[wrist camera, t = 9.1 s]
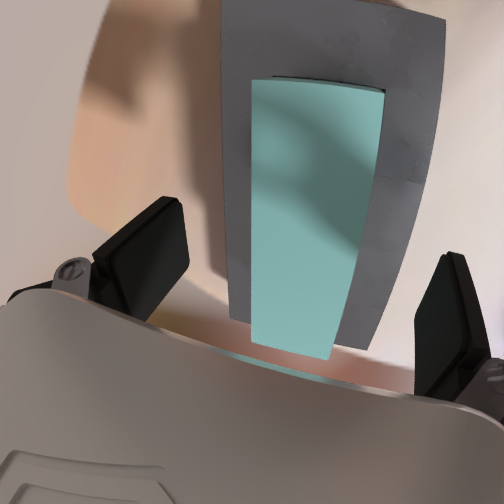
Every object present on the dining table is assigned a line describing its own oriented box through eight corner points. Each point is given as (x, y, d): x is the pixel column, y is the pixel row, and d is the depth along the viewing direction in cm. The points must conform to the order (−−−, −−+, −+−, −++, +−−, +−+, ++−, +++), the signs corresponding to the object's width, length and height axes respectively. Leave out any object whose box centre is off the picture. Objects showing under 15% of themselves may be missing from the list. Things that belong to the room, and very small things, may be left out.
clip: (298, 75, 14) (251, 79, 8) (373, 84, 13) (384, 93, 7) (287, 259, 21) (251, 341, 15) (344, 270, 20) (328, 360, 14)
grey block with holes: (244, 8, 13) (221, -1, 10) (431, 28, 10) (446, 20, 8) (244, 292, 24) (229, 318, 22) (369, 320, 21) (366, 350, 19)
